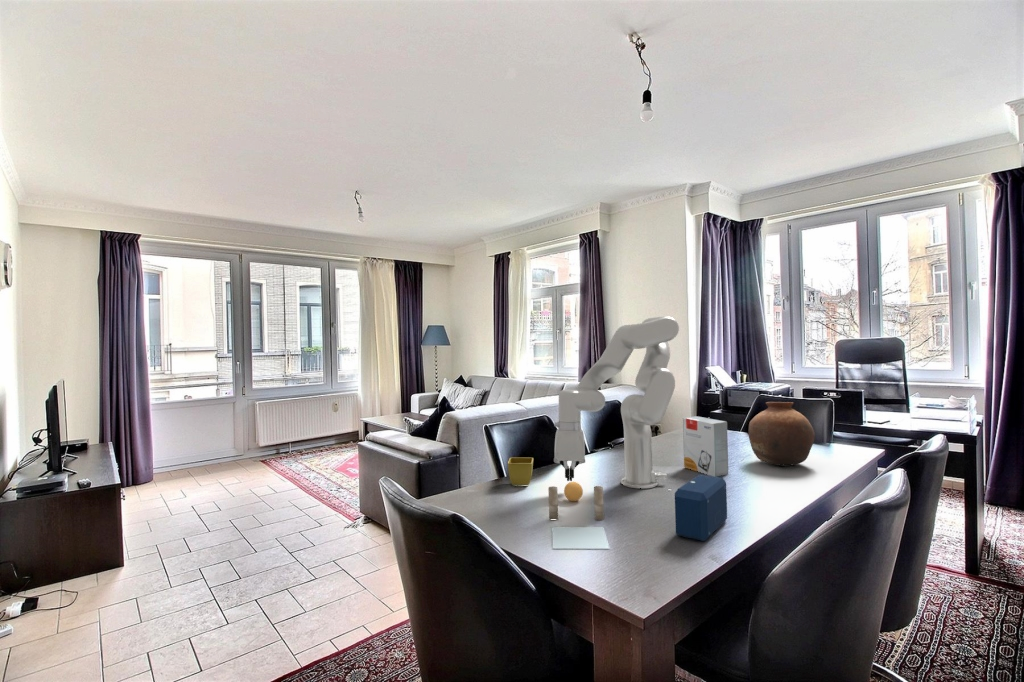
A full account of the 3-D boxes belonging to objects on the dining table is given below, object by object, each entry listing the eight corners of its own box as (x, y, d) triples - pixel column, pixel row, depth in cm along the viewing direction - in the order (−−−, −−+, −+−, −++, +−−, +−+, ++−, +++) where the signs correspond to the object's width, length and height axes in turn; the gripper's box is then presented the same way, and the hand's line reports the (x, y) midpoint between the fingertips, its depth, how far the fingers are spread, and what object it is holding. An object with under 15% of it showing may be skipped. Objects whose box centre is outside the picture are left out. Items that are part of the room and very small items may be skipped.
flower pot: (534, 481, 182) (533, 457, 182) (532, 488, 173) (532, 463, 173) (510, 481, 183) (509, 457, 183) (508, 488, 174) (507, 463, 174)
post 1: (558, 517, 144) (557, 486, 144) (558, 520, 142) (557, 489, 142) (549, 517, 145) (548, 486, 145) (549, 520, 142) (548, 489, 142)
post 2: (603, 516, 143) (602, 486, 143) (604, 520, 141) (603, 488, 141) (594, 516, 144) (593, 486, 144) (595, 520, 141) (594, 488, 141)
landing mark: (603, 527, 135) (603, 527, 135) (609, 549, 121) (609, 548, 121) (552, 527, 136) (552, 527, 136) (552, 549, 122) (552, 548, 122)
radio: (698, 514, 144) (696, 445, 144) (729, 520, 138) (727, 448, 138) (670, 537, 127) (668, 460, 127) (705, 545, 122) (702, 464, 122)
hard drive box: (683, 468, 194) (681, 417, 194) (697, 465, 197) (696, 415, 197) (714, 477, 180) (712, 423, 180) (729, 474, 183) (728, 421, 183)
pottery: (781, 474, 181) (779, 406, 181) (736, 460, 203) (734, 400, 203) (830, 468, 187) (827, 402, 187) (781, 455, 209) (779, 396, 209)
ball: (582, 497, 161) (581, 479, 161) (583, 503, 155) (583, 484, 155) (564, 497, 162) (563, 479, 162) (564, 503, 156) (564, 484, 156)
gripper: (547, 427, 165) (547, 482, 165) (592, 428, 164) (592, 483, 164) (547, 424, 172) (547, 476, 172) (590, 424, 171) (590, 477, 171)
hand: (569, 479), depth 168 cm, fingers closed
